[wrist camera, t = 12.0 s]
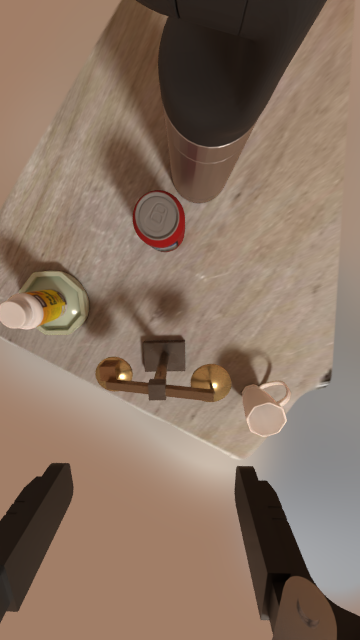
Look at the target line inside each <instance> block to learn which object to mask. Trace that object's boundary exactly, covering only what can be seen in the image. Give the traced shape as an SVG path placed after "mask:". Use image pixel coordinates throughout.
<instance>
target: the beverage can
mask: <svg viewBox="0 0 360 640" xmlns="http://www.w3.org/2000/svg"><path fill="white" fill-rule="evenodd" d="M133 225H134V229H135V231H136V233H137V235H138V236H139V237H140V239H141V240H143V241H144V242H145V243H146V244H148V245H149V246H151V247H152V248H154V249H156V250H158V251H161V252H169V251H172V250H174V249H176V248H177V247H178V246H179V245H180V244H181V242H182V241H183V238H184V233H185V215H184V210H183V208H182V205H181V204H180V202H179V201H178V199H177V198H176V197H175V196H173V195H172V194H170V193H168V192H166V191H161V190H156V191H151V192H148V193H146V194H145V195H143V196H142V197H141V198H140V199H139V200H138V202H137V203H136V205H135V208H134V211H133Z"/></svg>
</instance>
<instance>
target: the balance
mask: <svg viewBox="0 0 360 640" xmlns="http://www.w3.org/2000/svg"><path fill="white" fill-rule="evenodd" d="M143 347H144V362H145V372H152V371H156V373H155V377H154V379H150V380H149V383H145V382H135V381H131V380H132V377H133V372H132V369H131V367H130V365H129V364H128V363H127V362H126V361H125V360H123V359H121V358H119V357H108V358H106V359H104V360H102V361H101V362H100V363H99V365H98V366H97V368H96V379H97V381H98V383H99V384H100V385H101V386H102V387H103V388H105V389H107V390H109V391H125V392H134V393H143V394H149V400H166V396H168V397H177V398H186V399H194V400H202V401H206V402H216V401H219V400H221V399H223V398H224V397H225V396H226V395H227V394H228V393H229V391H230V389H231V379H230V376H229V374H228V372H227V371H226V370H225V369H224V368H223V367H221V366H219V365H216V364H206V365H203V366H201V367H199V368H198V369H197V370H196V371H195V372H194V373H193V375H192V377H191V387H184V386H174V385H166V374H167V371H185V340H177V341H144V343H143Z"/></svg>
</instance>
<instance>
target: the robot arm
mask: <svg viewBox="0 0 360 640" xmlns="http://www.w3.org/2000/svg"><path fill="white" fill-rule="evenodd" d="M136 1H138V2H139V3H141V4H142V5H144V6H146V7H148V8H149V9H151V10H154V11H156V12H158V13H160V14H163V15H166V16H169V17H168V19H167V21H166V24H165V26H164V30H163V33H162V37H161V42H160V48H159V58H158V68H159V82H160V89H161V96H162V103H163V111H164V118H165V125H166V133H167V141H168V149H169V157H170V166H171V174H172V179H173V183H174V186H175V188H176V190H177V191H178V193H179V194H180V195H181V196H182V197H183V198H185V199H186V200H188V201H190V202H193V203H205V202H208V201H210V200H212V199H214V198H215V197H216V196H217V195H218V194H219V193H220V192H221V191H222V189H223V188H224V186H225V184H226V182H227V180H228V178H229V176H230V174H231V172H232V170H233V168H234V166H235V164H236V162H237V160H238V158H239V156H240V154H241V152H242V150H243V148H244V146H245V144H246V142H247V140H248V138H249V136H250V134H251V132H252V130H253V128H254V126H255V124H256V122H257V120H258V118H259V116H260V114H261V113H262V111H263V110H264V108H265V107H266V105H267V103H268V101H269V100H270V98H271V96H272V94H273V92H274V90H275V88H276V86H277V84H278V82H279V81H280V79H281V77H282V75H283V74H284V72H285V70H286V68H287V67H288V65H289V63H290V62H291V60H292V58H293V57H294V55H295V53H296V51H297V50H298V48H299V46H300V45H301V43H302V41H303V40H304V38H305V36H306V35H307V33H308V31H309V30H310V28H311V26H312V25H313V23H314V21H315V20H316V18H317V16H318V15H319V13H320V11H321V10H322V8H323V6H324V4H325V2H326V1H327V0H136ZM72 496H73V481H72V475H71V469H70V464H69V463H52V464H50V466H49V467H48V468H47V469H46V471H45V472H44V474H43V475H42V477H36V478H35V479H33V480H32V481H31V482H30V483H29V484H28V485H27V486H26V487H24V489H23V490H22V492H21V493H20V494H19V496H18V497H17V498H16V500H15V502H14V504H12V505H11V507H10V508H9V510H8V511H7V512H6V515H4V516H3V518H2V519H1V521H0V622H1V620H2V618H3V616H4V614H5V612H6V611H13V612H17V611H19V609H20V606H21V604H22V602H23V600H24V598H25V596H26V594H27V592H28V590H29V588H30V586H31V584H32V581H33V579H34V577H35V575H36V573H37V571H38V569H39V567H40V565H41V563H42V561H43V559H44V556H45V554H46V552H47V550H48V548H49V546H50V544H51V542H52V540H53V538H54V536H55V534H56V531H57V529H58V527H59V525H60V523H61V521H62V519H63V517H64V515H65V513H66V511H67V508H68V507H69V504H70V502H71V499H72ZM235 502H236V508H237V513H238V517H239V522H240V527H241V531H242V536H243V541H244V545H245V550H246V554H247V559H248V564H249V568H250V572H251V577H252V582H253V587H254V591H255V596H256V600H257V605H258V610H259V614H260V619H261V620H270V623H271V628H272V632H273V639H272V640H360V616H358V615H356V614H354V613H351V612H349V611H347V610H345V609H343V608H341V607H339V606H337V605H336V604H334V603H333V602H332V601H331V600H329V599H328V598H327V597H326V596H325V595H324V594H323V593H322V592H321V591H320V589H319V588H318V587H317V586H316V584H315V583H314V581H313V579H312V578H311V576H310V574H309V572H308V570H307V567H306V564H305V562H304V560H303V557H302V555H301V552H300V550H299V547H298V545H297V542H296V540H295V538H294V535H293V533H292V530H291V528H290V525H289V523H288V522H287V518H286V515H285V513H284V511H283V509H282V506H281V503H280V501H279V498H278V496H277V494H276V492H275V491H274V489H273V488H272V487H271V485H270V484H269V483H268V482H267V481H259V480H258V478H257V475H256V472H255V469H254V468H253V466H237V468H236V480H235Z"/></svg>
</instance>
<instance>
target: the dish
mask: <svg viewBox="0 0 360 640" xmlns="http://www.w3.org/2000/svg"><path fill="white" fill-rule="evenodd" d="M46 289H53V290H57V291H59V292H60V293H62V294H63V295H64V296H65V298H66V300H67V303H68V308H67V311H66V313H65V314H64V315H63V316H62V317H60V318H58V319H56V320H53V321H50V322H48V323H45V324H43V325H40V326H38V327H36V328H37V329H38V330H40V331H41V332H42V333H43V334H46V335H68V334H71V333H73V332H74V331H75V330H76V329H78V328H79V327H80V326H81V325H82V324H83V323H84V322H85V320H86V319H87V316H88V313H89V298H88V295H87V293H86V291H85V289H84V287H83V286H82V284H81V283H80V282H79V281H78V280H77V279H75V278H74V277H73V276H71V275H69V274H67V273H65V272H62V271H43V272H34V273H32V275H31V276H30V277H29V279H28V280H27V281H26V283H25V284H24V285H23V287H22V288H21V289H20V291H19V293H25V292H33V291H40V290H46Z"/></svg>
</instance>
